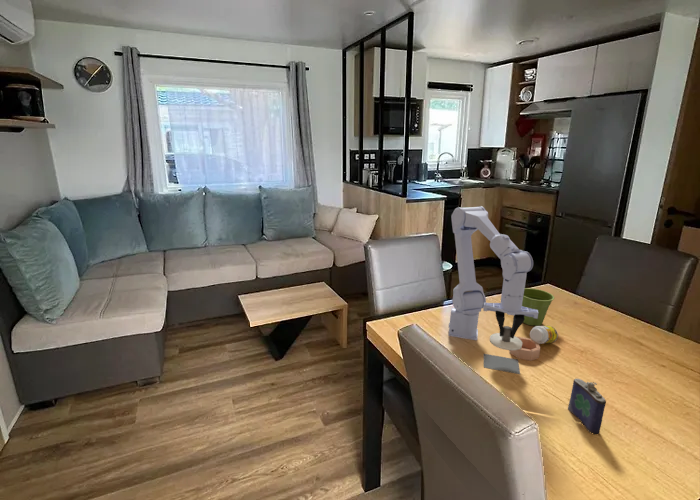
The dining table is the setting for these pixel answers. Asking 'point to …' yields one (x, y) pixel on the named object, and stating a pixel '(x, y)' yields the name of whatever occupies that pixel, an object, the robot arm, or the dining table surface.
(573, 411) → the flask
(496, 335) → the lid
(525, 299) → the plant pot
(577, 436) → the dining table surface
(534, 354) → the bowl
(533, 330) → the supplement bottle
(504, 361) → the mat
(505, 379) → the dining table surface
